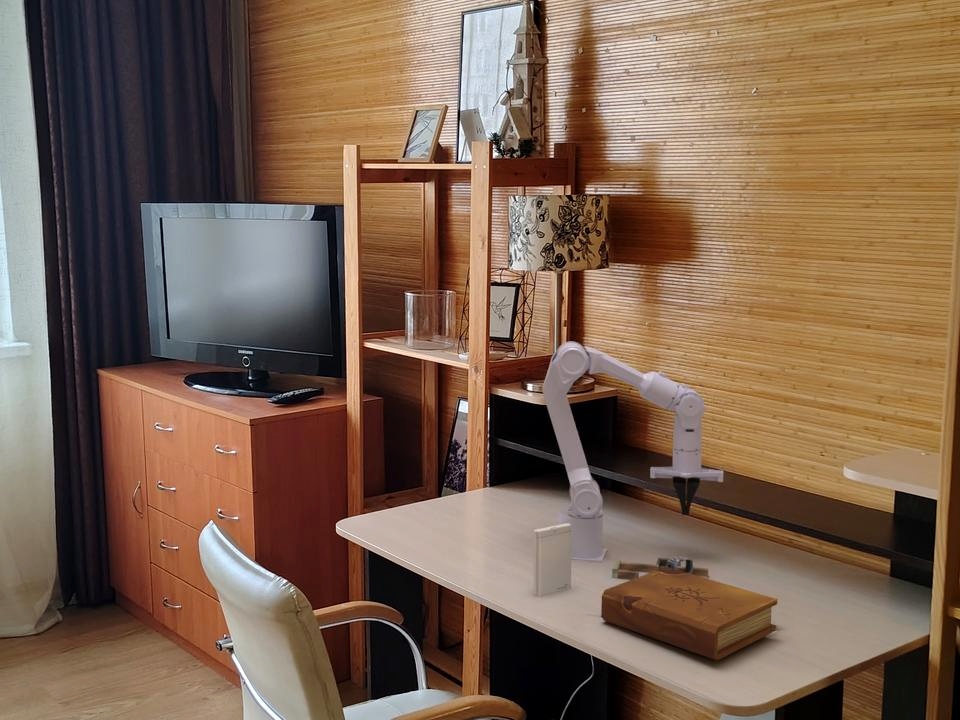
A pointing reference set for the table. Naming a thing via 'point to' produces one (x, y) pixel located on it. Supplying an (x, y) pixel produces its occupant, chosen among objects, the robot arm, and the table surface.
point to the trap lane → (648, 569)
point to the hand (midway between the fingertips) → (685, 513)
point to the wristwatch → (674, 563)
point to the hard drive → (552, 559)
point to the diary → (689, 612)
